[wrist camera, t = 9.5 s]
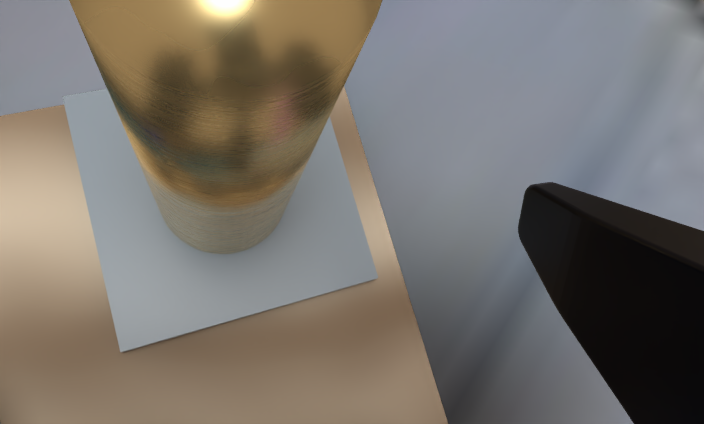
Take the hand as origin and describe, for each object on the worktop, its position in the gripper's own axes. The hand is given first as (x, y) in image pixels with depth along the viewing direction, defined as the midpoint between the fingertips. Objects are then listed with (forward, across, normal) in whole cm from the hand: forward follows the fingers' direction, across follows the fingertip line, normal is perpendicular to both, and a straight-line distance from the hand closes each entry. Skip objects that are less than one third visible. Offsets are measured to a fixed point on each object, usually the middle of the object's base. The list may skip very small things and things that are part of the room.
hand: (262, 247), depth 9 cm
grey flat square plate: (+10, 0, +5) cm, 12 cm away
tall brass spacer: (+9, 0, +4) cm, 10 cm away
